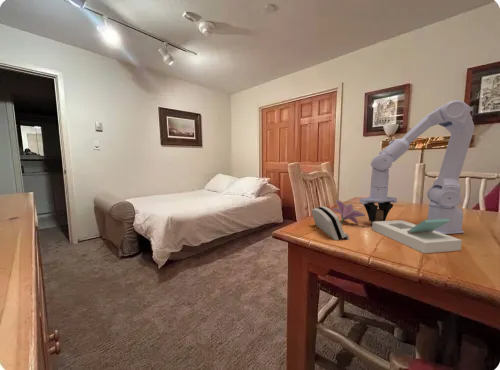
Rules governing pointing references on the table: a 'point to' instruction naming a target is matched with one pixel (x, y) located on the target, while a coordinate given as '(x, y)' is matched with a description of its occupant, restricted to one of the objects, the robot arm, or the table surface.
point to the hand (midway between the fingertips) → (376, 221)
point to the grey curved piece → (328, 222)
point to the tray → (417, 237)
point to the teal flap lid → (428, 225)
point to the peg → (378, 215)
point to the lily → (347, 211)
